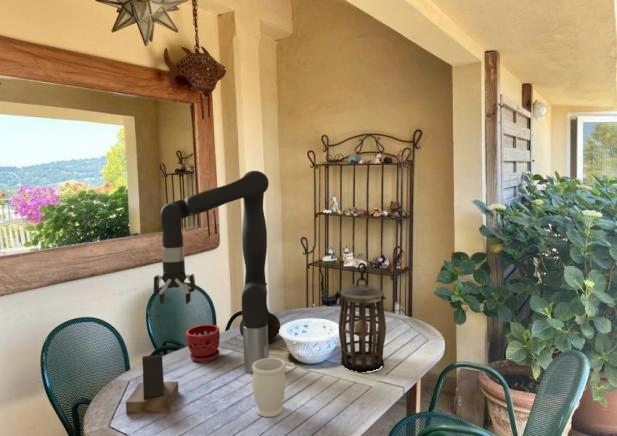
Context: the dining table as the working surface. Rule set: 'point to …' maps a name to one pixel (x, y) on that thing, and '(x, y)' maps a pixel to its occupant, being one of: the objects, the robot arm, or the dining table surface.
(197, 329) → the plant pot
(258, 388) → the jar
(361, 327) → the lantern
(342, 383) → the dining table surface
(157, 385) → the phone stand
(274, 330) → the black rounded vessel
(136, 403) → the walnut plinth
